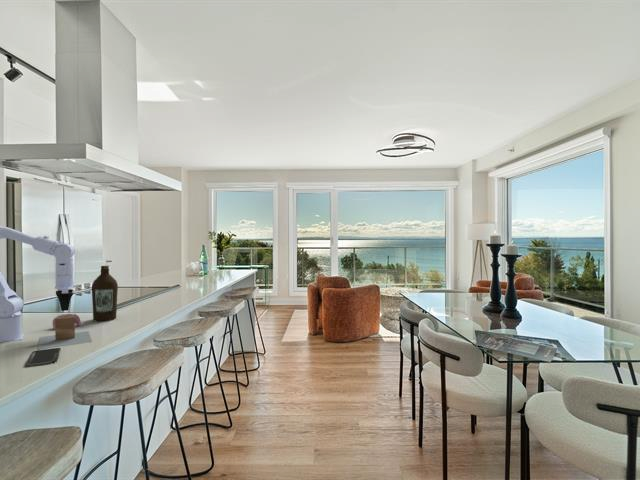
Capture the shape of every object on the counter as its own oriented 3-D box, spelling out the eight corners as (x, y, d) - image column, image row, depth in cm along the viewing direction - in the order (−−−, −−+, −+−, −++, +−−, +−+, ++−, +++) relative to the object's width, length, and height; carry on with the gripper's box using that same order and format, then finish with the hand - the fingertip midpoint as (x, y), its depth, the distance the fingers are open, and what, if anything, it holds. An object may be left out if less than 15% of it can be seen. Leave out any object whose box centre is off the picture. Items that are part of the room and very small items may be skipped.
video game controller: (80, 329, 161) (78, 313, 163) (82, 326, 158) (80, 310, 160) (52, 333, 154) (50, 317, 156) (54, 330, 151) (52, 313, 153)
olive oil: (92, 317, 176) (92, 265, 175) (118, 315, 180) (118, 264, 180) (90, 322, 166) (90, 267, 166) (117, 320, 171) (117, 266, 170)
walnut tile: (55, 339, 138) (55, 318, 138) (74, 337, 142) (74, 316, 142) (55, 340, 137) (55, 319, 137) (74, 338, 141) (74, 317, 140)
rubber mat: (39, 338, 141) (39, 337, 141) (88, 332, 151) (88, 331, 151) (37, 350, 127) (37, 349, 127) (92, 342, 136) (92, 341, 136)
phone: (24, 364, 111) (32, 350, 124) (24, 368, 111) (32, 354, 124) (56, 360, 115) (61, 347, 128) (56, 364, 115) (61, 350, 128)
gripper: (77, 275, 141) (77, 311, 141) (75, 272, 153) (75, 305, 153) (55, 277, 137) (55, 313, 137) (54, 273, 149) (54, 307, 149)
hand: (64, 309), depth 145 cm, fingers open, 5 cm apart
